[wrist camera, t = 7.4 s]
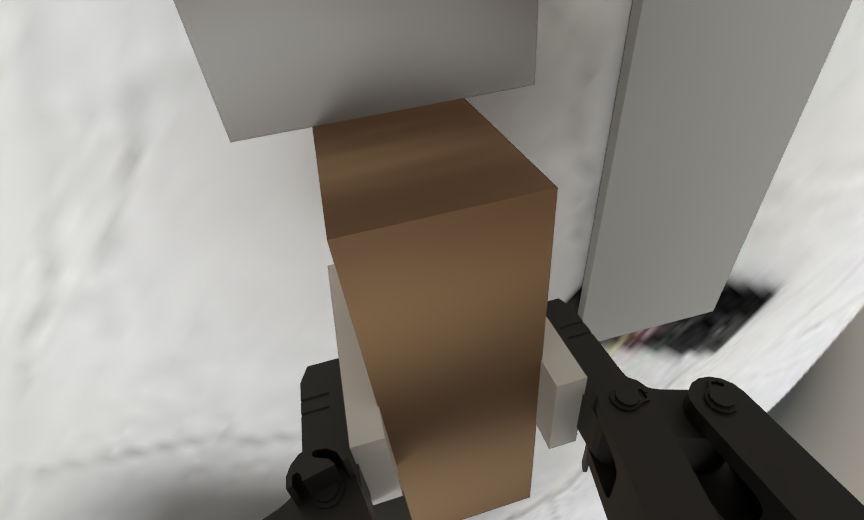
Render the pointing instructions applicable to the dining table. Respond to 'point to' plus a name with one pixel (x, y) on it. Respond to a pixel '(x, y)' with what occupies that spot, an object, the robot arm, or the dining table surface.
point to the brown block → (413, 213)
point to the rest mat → (695, 149)
